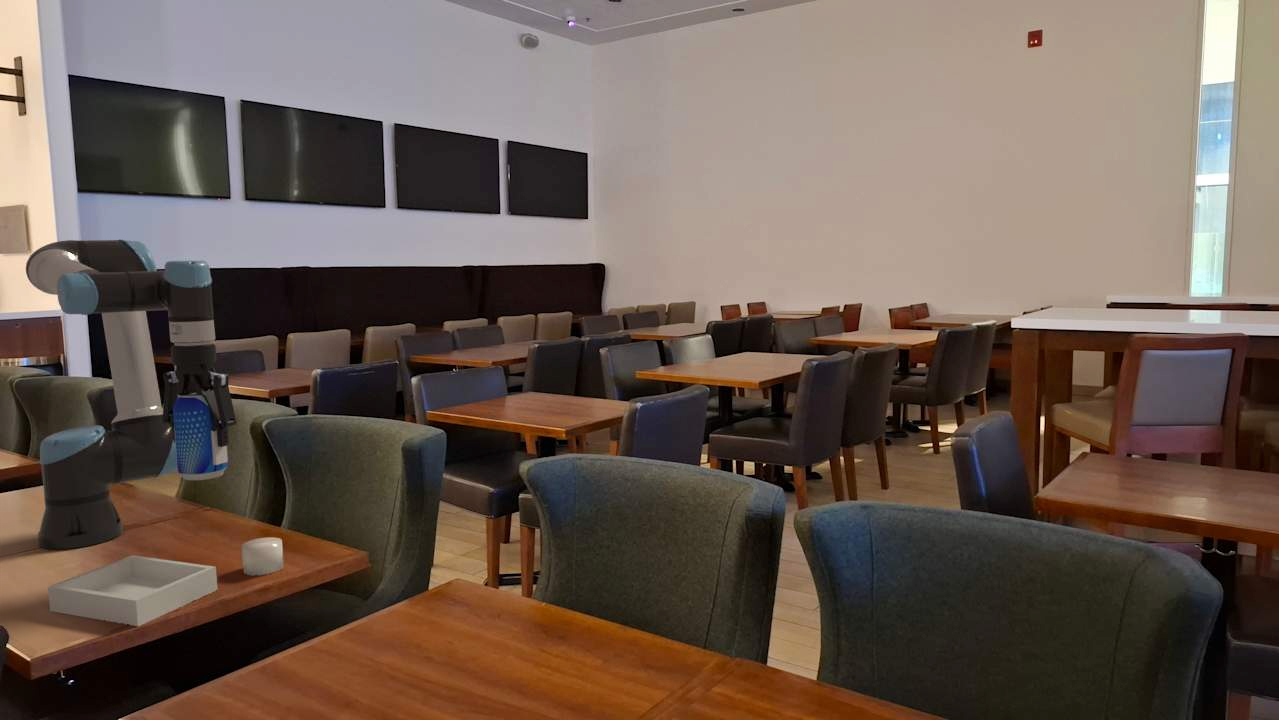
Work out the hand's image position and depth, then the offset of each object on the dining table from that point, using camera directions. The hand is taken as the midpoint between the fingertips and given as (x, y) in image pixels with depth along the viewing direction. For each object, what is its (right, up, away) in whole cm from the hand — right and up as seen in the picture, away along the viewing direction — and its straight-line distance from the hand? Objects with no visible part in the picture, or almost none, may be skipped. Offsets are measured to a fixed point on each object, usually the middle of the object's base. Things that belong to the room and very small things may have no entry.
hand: (202, 461), depth 165 cm
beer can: (0, -3, 0) cm, 3 cm away
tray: (-4, -22, -15) cm, 27 cm away
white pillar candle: (+12, -20, -1) cm, 24 cm away
